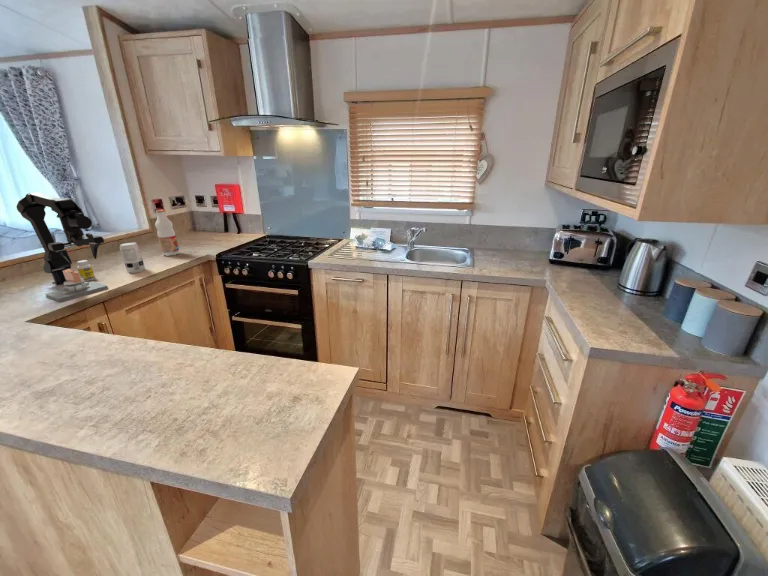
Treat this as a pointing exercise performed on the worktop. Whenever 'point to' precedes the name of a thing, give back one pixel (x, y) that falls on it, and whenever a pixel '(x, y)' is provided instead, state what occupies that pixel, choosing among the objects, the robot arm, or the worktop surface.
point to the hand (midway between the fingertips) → (83, 261)
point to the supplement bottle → (85, 270)
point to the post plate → (76, 292)
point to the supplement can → (132, 257)
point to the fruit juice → (166, 234)
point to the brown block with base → (73, 281)
